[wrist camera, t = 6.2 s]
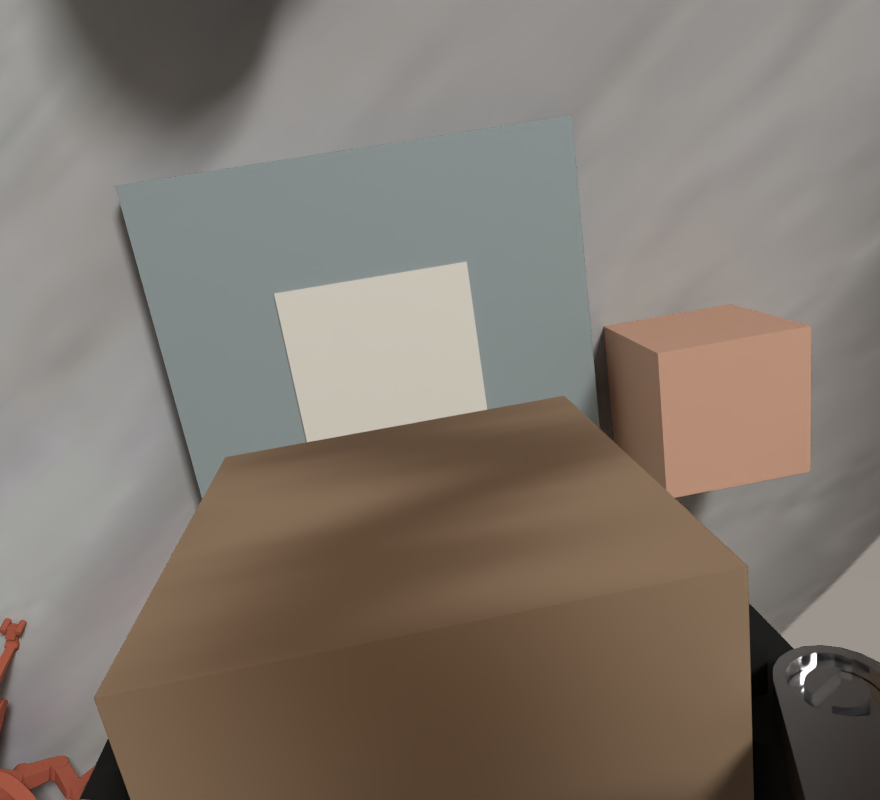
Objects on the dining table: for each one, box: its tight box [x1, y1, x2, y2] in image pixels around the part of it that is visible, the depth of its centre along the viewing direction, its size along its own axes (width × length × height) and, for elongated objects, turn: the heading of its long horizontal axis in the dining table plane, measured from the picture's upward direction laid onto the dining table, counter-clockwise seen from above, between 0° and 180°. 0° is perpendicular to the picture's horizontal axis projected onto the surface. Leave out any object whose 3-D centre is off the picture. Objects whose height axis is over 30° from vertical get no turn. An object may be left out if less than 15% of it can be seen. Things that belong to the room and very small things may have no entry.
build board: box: [115, 115, 600, 499], centre depth 30 cm, size 18×18×1 cm
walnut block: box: [94, 396, 754, 800], centre depth 10 cm, size 6×6×6 cm
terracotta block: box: [604, 304, 811, 498], centre depth 29 cm, size 6×6×6 cm
